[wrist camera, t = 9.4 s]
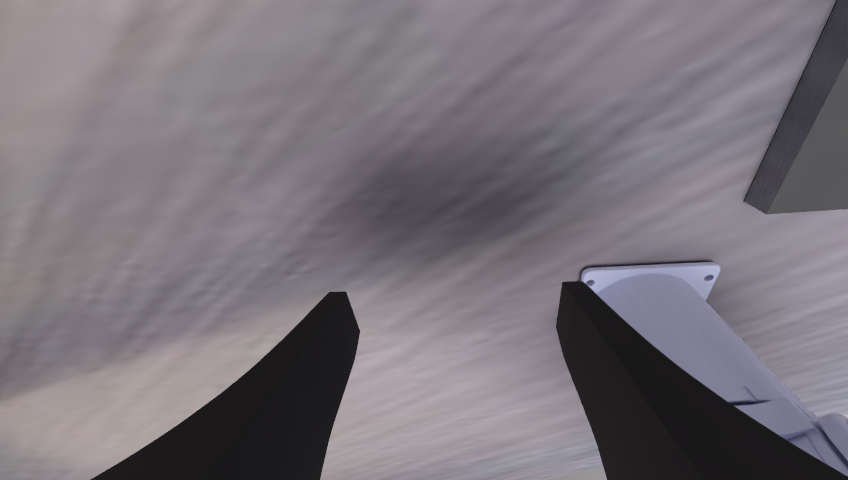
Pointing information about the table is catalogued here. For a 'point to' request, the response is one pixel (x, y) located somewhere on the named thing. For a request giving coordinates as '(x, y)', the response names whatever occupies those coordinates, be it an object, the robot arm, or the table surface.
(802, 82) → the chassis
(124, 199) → the table surface
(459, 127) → the table surface
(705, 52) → the table surface
